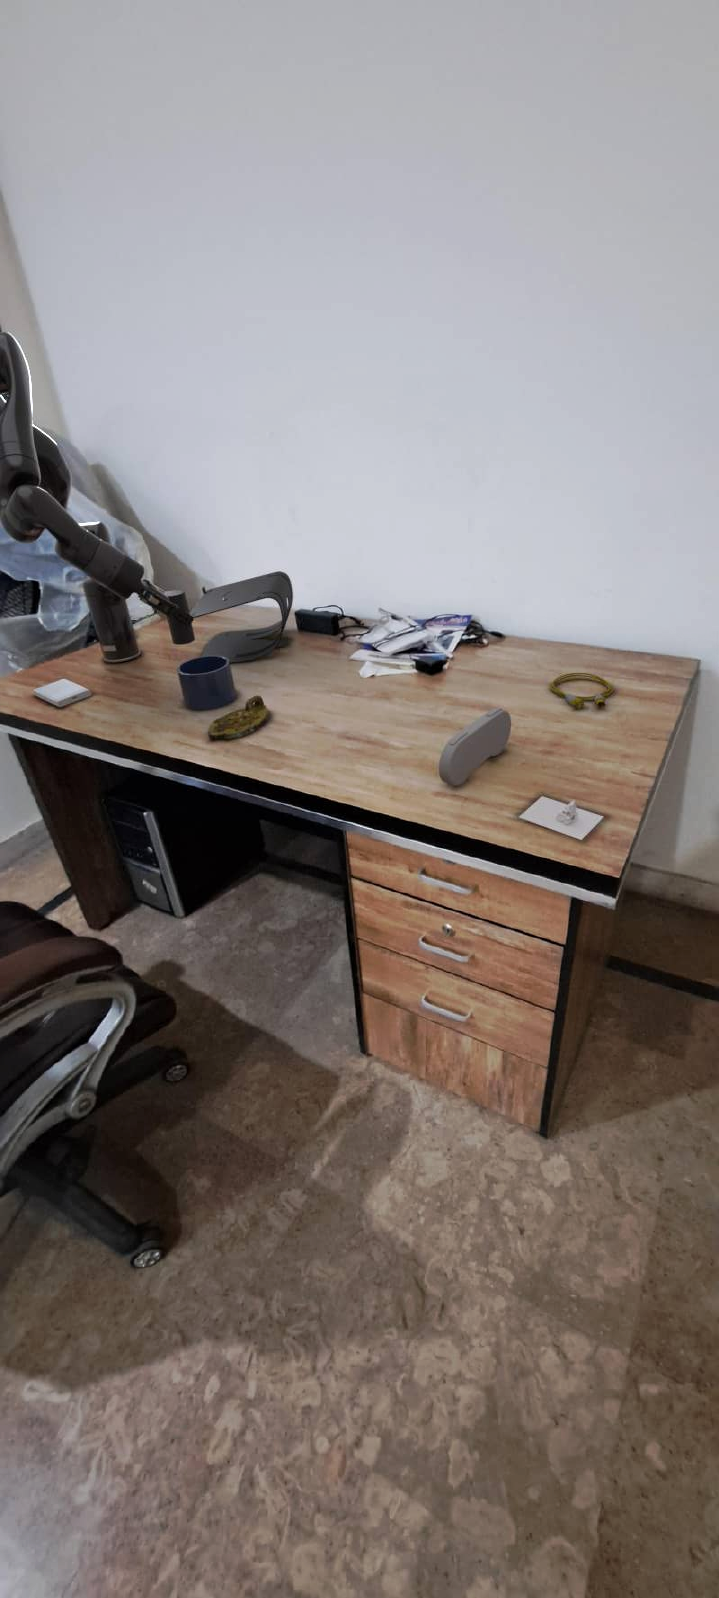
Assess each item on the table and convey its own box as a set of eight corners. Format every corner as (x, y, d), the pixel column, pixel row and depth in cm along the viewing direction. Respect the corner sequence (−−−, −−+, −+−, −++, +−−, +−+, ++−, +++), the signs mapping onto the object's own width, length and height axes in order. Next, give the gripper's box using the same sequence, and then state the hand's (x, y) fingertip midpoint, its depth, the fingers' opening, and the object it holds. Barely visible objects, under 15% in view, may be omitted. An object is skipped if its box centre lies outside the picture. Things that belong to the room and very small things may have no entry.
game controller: (499, 742, 121) (500, 699, 116) (510, 745, 119) (512, 702, 115) (437, 790, 109) (436, 745, 104) (449, 794, 107) (448, 748, 103)
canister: (171, 639, 142) (159, 592, 136) (192, 635, 143) (182, 588, 138) (175, 646, 138) (163, 597, 133) (197, 641, 140) (186, 593, 134)
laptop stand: (288, 659, 165) (279, 596, 157) (193, 667, 166) (179, 604, 158) (298, 626, 187) (290, 569, 178) (214, 632, 188) (202, 576, 180)
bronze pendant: (229, 751, 129) (281, 719, 138) (226, 729, 126) (280, 698, 136) (195, 736, 133) (248, 706, 143) (192, 715, 130) (246, 686, 140)
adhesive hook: (570, 827, 97) (572, 809, 96) (553, 821, 99) (555, 803, 97) (580, 818, 99) (582, 800, 97) (563, 812, 101) (565, 794, 99)
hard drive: (32, 689, 158) (56, 701, 151) (65, 677, 163) (89, 688, 155) (34, 696, 159) (59, 708, 151) (67, 684, 164) (92, 695, 156)
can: (180, 696, 151) (172, 662, 147) (229, 684, 155) (222, 651, 150) (190, 714, 142) (182, 679, 138) (241, 701, 146) (235, 666, 141)
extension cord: (538, 705, 132) (539, 695, 131) (560, 675, 143) (560, 666, 142) (602, 713, 127) (603, 704, 126) (620, 682, 138) (621, 672, 137)
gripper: (127, 559, 123) (206, 612, 133) (119, 546, 134) (191, 595, 144) (106, 594, 124) (185, 643, 134) (99, 578, 135) (173, 625, 145)
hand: (188, 618), depth 139 cm, fingers closed on canister, 4 cm apart
